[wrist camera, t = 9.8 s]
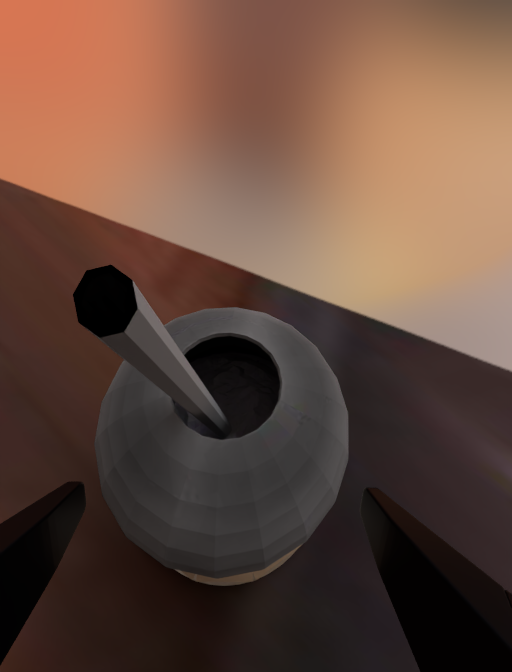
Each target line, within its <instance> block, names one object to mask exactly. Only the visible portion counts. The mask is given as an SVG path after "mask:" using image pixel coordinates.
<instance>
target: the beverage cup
mask: <svg viewBox="0 0 512 672" xmlns="http://www.w3.org/2000/svg"><path fill="white" fill-rule="evenodd" d="M73 297H74V302H75V307H76V312H77V318H78V322H79V323H80V324H81V325H82V326H84V327H85V328H86V329H87V330H88V331H90V332H91V333H92V334H93V335H95V336H96V337H97V338H98V339H100V340H101V341H102V342H103V343H104V344H106V345H107V346H108V347H109V348H111V349H112V350H113V351H114V352H116V353H117V354H118V355H119V356H120V357H122V358H123V359H124V361H123V362H122V364H121V366H120V368H119V370H118V372H117V374H116V376H115V377H114V379H113V381H112V383H111V385H110V387H109V389H108V391H107V393H106V395H105V397H104V399H103V401H102V404H101V410H100V415H99V421H98V427H97V432H96V438H95V443H94V445H95V451H96V458H97V464H98V470H99V477H100V483H101V490H102V496H103V497H104V499H105V501H106V503H107V504H108V506H109V508H110V510H111V511H112V513H113V515H114V517H115V518H116V520H117V522H118V524H119V525H120V527H121V529H122V531H123V532H124V534H125V536H126V537H127V538H128V539H129V540H131V541H132V542H133V543H135V544H136V545H137V546H139V547H140V548H141V549H143V550H144V551H145V552H147V553H148V554H149V555H151V556H152V557H153V558H155V559H156V560H157V561H158V562H160V563H161V564H162V565H164V566H165V567H168V568H171V569H176V570H180V571H185V572H189V573H193V574H198V575H202V576H206V577H211V578H215V579H218V578H223V577H228V576H233V575H239V574H244V573H249V572H254V571H259V570H263V569H265V568H267V567H268V566H270V565H271V564H273V563H274V562H276V561H277V560H279V559H280V558H282V557H283V556H285V555H286V554H288V553H289V552H291V551H292V550H294V549H295V548H297V547H299V546H300V545H302V544H303V543H305V542H306V541H307V540H308V539H309V537H310V536H311V534H312V533H313V532H314V530H315V529H316V528H317V526H318V525H319V524H320V522H321V521H322V519H323V518H324V517H325V515H326V514H327V513H328V511H329V510H330V508H331V507H332V506H333V504H334V503H335V501H336V497H337V494H338V491H339V488H340V485H341V481H342V478H343V475H344V472H345V469H346V465H347V462H348V412H347V409H346V406H345V402H344V399H343V396H342V393H341V389H340V386H339V383H338V380H337V378H336V376H335V375H334V373H333V372H332V370H331V369H330V367H329V365H328V364H327V362H326V361H325V359H324V358H323V356H322V355H321V353H320V352H319V350H318V349H317V347H316V346H315V345H314V344H312V343H311V342H310V341H309V340H308V339H307V338H305V337H304V336H303V335H302V334H301V333H300V332H298V331H297V330H296V329H295V328H294V327H293V326H291V325H289V324H287V323H285V322H283V321H280V320H278V319H276V318H274V317H272V316H270V315H268V314H266V313H262V312H257V311H252V310H246V309H241V308H236V307H234V308H216V309H204V310H201V311H198V312H195V313H191V314H188V315H185V316H182V317H179V318H175V319H174V320H172V321H170V322H169V323H167V324H166V325H164V326H163V324H162V323H161V321H160V320H159V318H158V317H157V315H156V314H155V313H154V311H153V310H152V308H151V307H150V305H149V304H148V302H147V301H146V299H145V298H144V296H143V295H142V293H141V292H140V291H139V289H138V288H137V286H136V285H135V283H134V282H133V280H131V279H130V278H129V277H127V276H126V275H125V274H123V273H122V272H120V271H119V270H118V269H116V268H115V267H114V266H112V265H108V266H104V267H100V268H95V269H91V270H87V271H86V272H85V274H84V276H83V278H82V279H81V281H80V283H79V285H78V287H77V288H76V290H75V292H74V294H73Z"/></svg>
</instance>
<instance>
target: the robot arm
mask: <svg viewBox="0 0 512 672" xmlns="http://www.w3.org/2000/svg"><path fill="white" fill-rule="evenodd" d="M85 507H86V498H85V488H84V484H83V482H67V483H65V484H64V485H62V486H60V487H59V488H57V489H56V490H54V491H52V492H51V493H49V494H48V495H46V496H44V497H43V498H41V499H40V500H38V501H36V502H35V503H33V504H32V505H30V506H28V507H27V508H25V509H24V510H22V511H20V512H19V513H17V514H15V515H14V516H12V517H11V518H9V519H7V520H6V521H4V522H3V523H1V524H0V665H1V663H2V662H3V660H4V658H5V657H6V655H7V653H8V652H9V650H10V648H11V646H12V645H13V643H14V641H15V640H16V638H17V636H18V634H19V633H20V631H21V629H22V628H23V626H24V624H25V622H26V621H27V619H28V617H29V616H30V614H31V612H32V610H33V609H34V607H35V605H36V604H37V602H38V600H39V598H40V597H41V595H42V593H43V592H44V590H45V588H46V586H47V585H48V583H49V581H50V580H51V578H52V576H53V574H54V572H55V571H56V569H57V567H58V565H59V563H60V561H61V559H62V557H63V554H64V552H65V550H66V548H67V546H68V544H69V542H70V540H71V538H72V536H73V534H74V532H75V530H76V528H77V525H78V523H79V521H80V519H81V517H82V515H83V513H84V510H85ZM360 513H361V517H362V520H363V524H364V527H365V530H366V533H367V536H368V539H369V542H370V545H371V549H372V552H373V555H374V558H375V561H376V564H377V567H378V570H379V573H380V575H381V578H382V580H383V583H384V585H385V587H386V590H387V592H388V595H389V597H390V599H391V602H392V604H393V607H394V609H395V612H396V614H397V616H398V619H399V621H400V624H401V626H402V628H403V631H404V633H405V636H406V638H407V640H408V643H409V645H410V648H411V650H412V653H413V655H414V657H415V660H416V662H417V665H418V667H419V669H420V672H512V594H511V593H510V592H509V591H507V590H504V588H503V587H502V586H501V585H500V584H498V583H497V582H496V581H494V580H493V579H492V578H491V577H489V576H488V575H487V574H486V573H484V572H483V571H482V570H481V569H479V568H478V567H477V566H476V565H474V564H473V563H472V562H470V561H469V560H468V559H467V558H465V557H464V556H463V555H462V554H460V553H459V552H458V551H457V550H455V549H454V548H453V547H451V546H450V545H449V544H448V543H446V542H445V541H444V540H443V539H441V538H440V537H439V536H438V535H436V534H435V533H434V532H433V531H431V530H430V529H429V528H427V527H426V526H425V525H424V524H422V523H421V522H420V521H419V520H417V519H416V518H415V517H414V516H412V515H411V514H410V513H409V512H407V511H406V510H405V509H403V508H402V507H401V506H400V505H398V504H397V503H396V502H395V501H393V500H392V499H391V498H390V497H388V496H387V495H386V494H385V493H383V492H382V491H381V490H379V489H378V488H365V489H364V491H363V496H362V501H361V506H360Z"/></svg>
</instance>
